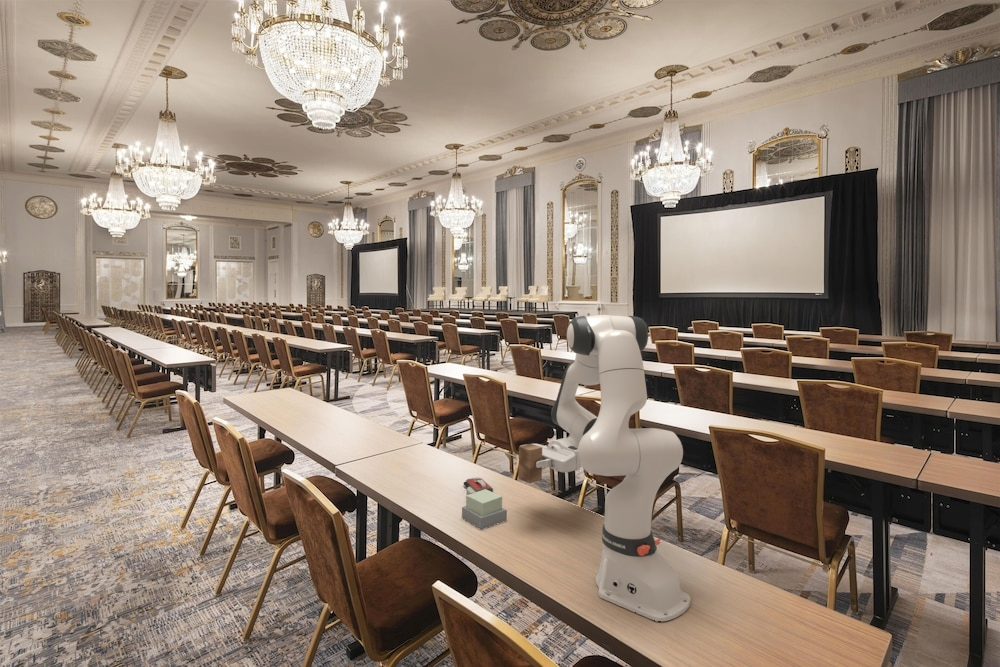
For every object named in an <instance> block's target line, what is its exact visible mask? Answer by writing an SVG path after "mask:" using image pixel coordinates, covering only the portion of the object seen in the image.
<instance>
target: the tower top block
mask: <svg viewBox="0 0 1000 667" xmlns="http://www.w3.org/2000/svg"><path fill="white" fill-rule="evenodd" d="M465 498H466V499H465V506H466V508H467V509H469V510H471V511H473V512H475V513H477V514H479V515H481V516H485V515H487V514H490V513H493V512H495V511H498V510H501V509H502V508H503V496H502V495H500V494H498V493H495V492H494V491H493V492H491V491H489V490H486V489H484V490H481V491H478V492H475V493H472V494H469V495H467V494H466V496H465Z"/></svg>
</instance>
